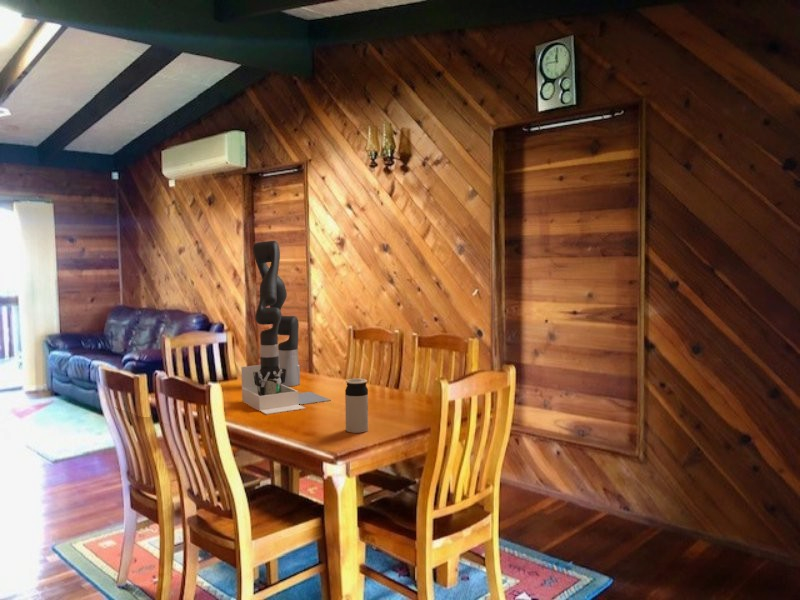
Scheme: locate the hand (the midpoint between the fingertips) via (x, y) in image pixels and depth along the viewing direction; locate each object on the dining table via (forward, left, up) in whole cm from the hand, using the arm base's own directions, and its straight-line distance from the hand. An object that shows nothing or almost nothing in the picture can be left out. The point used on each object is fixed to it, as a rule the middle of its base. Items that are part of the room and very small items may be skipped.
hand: (270, 394), depth 272 cm
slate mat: (-16, 0, -4) cm, 17 cm away
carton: (0, +4, -4) cm, 5 cm away
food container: (-1, 0, -3) cm, 3 cm away
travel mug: (-9, +57, -4) cm, 58 cm away
